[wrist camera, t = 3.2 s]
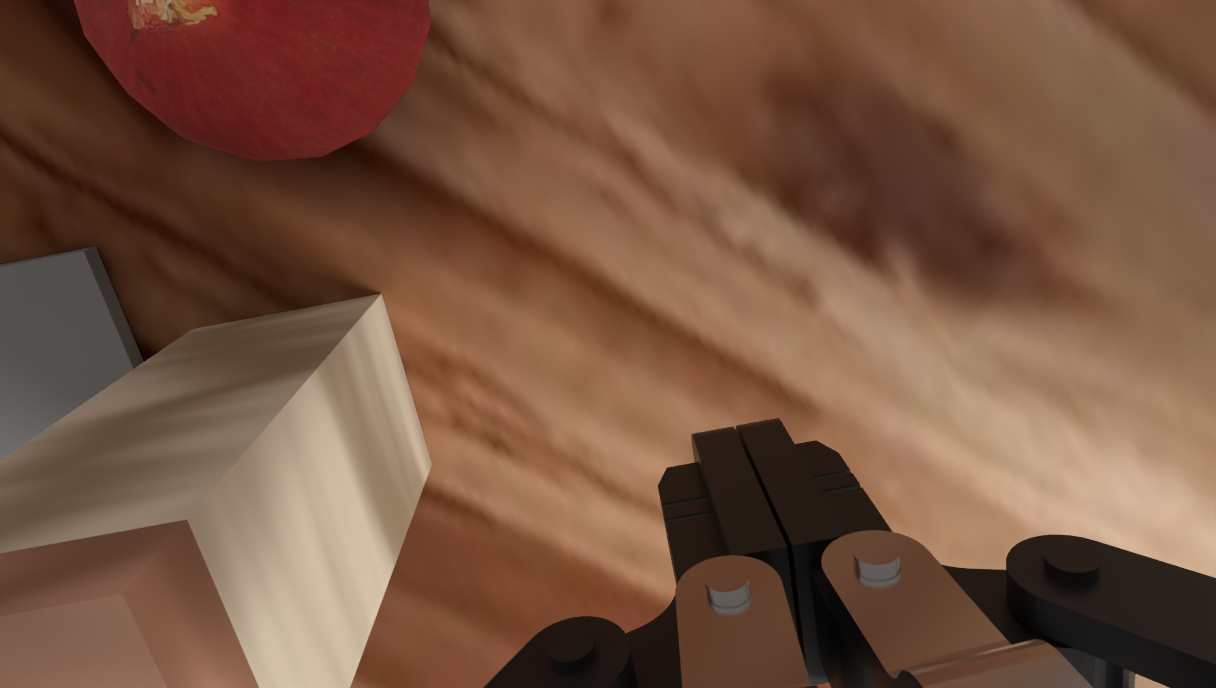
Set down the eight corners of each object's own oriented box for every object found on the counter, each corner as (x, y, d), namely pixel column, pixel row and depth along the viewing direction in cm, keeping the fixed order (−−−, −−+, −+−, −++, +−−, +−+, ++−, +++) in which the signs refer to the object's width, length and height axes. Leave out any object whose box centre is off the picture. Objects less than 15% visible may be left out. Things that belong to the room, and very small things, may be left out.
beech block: (381, 293, 20) (122, 594, 9) (431, 464, 22) (271, 903, 10) (191, 329, 20) (-311, 672, 9) (256, 495, 22) (-93, 963, 10)
